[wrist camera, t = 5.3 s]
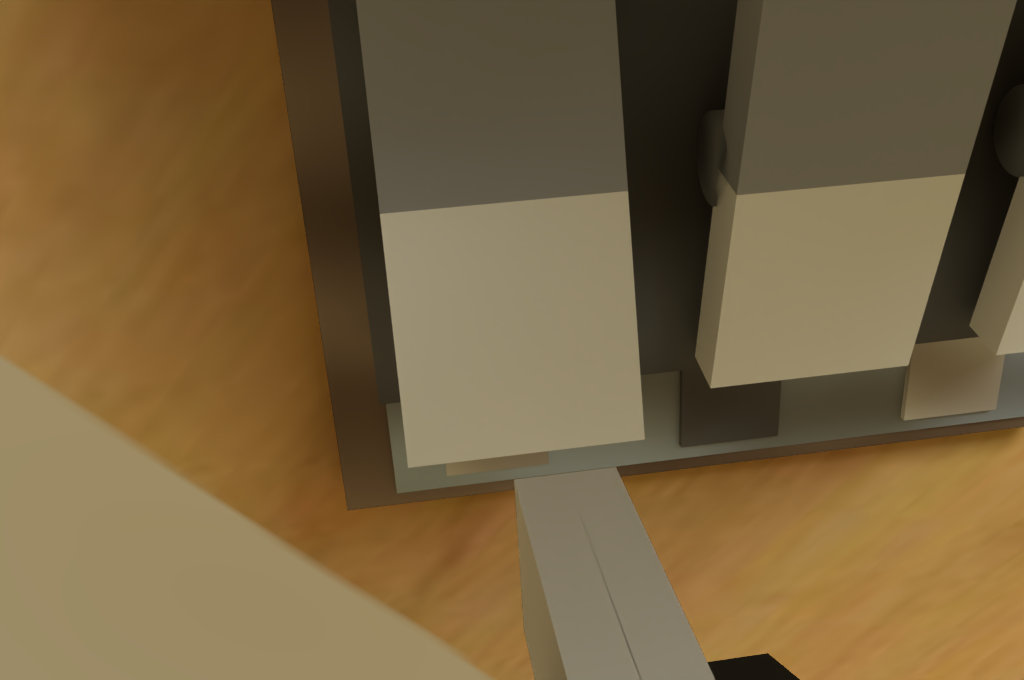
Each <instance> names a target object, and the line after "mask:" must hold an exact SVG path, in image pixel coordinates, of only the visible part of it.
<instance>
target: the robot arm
mask: <svg viewBox="0 0 1024 680" xmlns="http://www.w3.org/2000/svg"><path fill="white" fill-rule="evenodd" d="M514 487H515V502H516V517H517V532H518V547H519V562H520V577H521V592H522V607H523V622H524V632H525V637H526V641H527V646H528V650H529V655H530V659H531V664H532V668H533V673H534V677H535V680H800V679H798V678H797V677H796V676H795V675H793V674H792V673H791V672H790V671H789V670H787V669H786V668H785V667H784V666H783V665H781V664H780V663H779V662H778V661H776V660H775V659H774V658H773V657H772V656H770V655H769V654H768V653H767V654H760V655H754V656H747V657H740V658H733V659H727V660H720V661H713V662H707V661H706V659H705V657H704V654H703V652H702V650H701V648H700V646H699V644H698V642H697V639H696V637H695V635H694V633H693V631H692V629H691V627H690V624H689V622H688V620H687V618H686V616H685V614H684V612H683V610H682V607H681V605H680V603H679V601H678V599H677V597H676V595H675V592H674V590H673V588H672V586H671V584H670V582H669V580H668V577H667V575H666V573H665V571H664V569H663V567H662V565H661V562H660V560H659V558H658V556H657V554H656V552H655V550H654V547H653V545H652V543H651V541H650V539H649V537H648V535H647V532H646V530H645V528H644V526H643V524H642V522H641V520H640V517H639V515H638V513H637V511H636V509H635V507H634V505H633V503H632V500H631V498H630V496H629V494H628V492H627V490H626V488H625V485H624V483H623V481H622V479H621V477H620V475H619V473H618V470H617V468H616V467H612V468H604V469H595V470H587V471H579V472H571V473H563V474H555V475H547V476H539V477H531V478H523V479H515V480H514Z"/></svg>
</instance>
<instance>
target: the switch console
mask: <svg viewBox="0 0 1024 680" xmlns="http://www.w3.org/2000/svg"><path fill="white" fill-rule="evenodd" d="M737 3H738V0H615V6H616V21H617V36H618V50H619V65H620V80H621V95H622V110H623V124H624V139H625V154H626V169H627V183H628V198H629V213H630V228H631V243H632V257H633V272H634V287H635V302H636V317H637V331H638V346H639V361H640V376H641V391H642V405H643V420H644V435H645V440H637V441H628V442H620V443H612V444H603V445H595V446H587V447H578V448H570V449H562V450H553V451H545V452H537V453H528V454H520V455H512V456H503V457H495V458H487V459H478V460H470V461H462V462H453V463H445V464H437V465H428V466H420V467H412V468H408V463H407V454H406V445H405V436H404V427H403V418H402V409H401V400H400V391H399V382H398V373H397V364H396V355H395V346H394V337H393V328H392V319H391V310H390V301H389V292H388V283H387V274H386V265H385V256H384V247H383V238H382V229H381V220H380V211H379V202H378V193H377V184H376V175H375V166H374V157H373V148H372V139H371V130H370V121H369V112H368V103H367V95H366V86H365V77H364V68H363V59H362V50H361V41H360V32H359V23H358V14H357V5H356V0H271V4H272V11H273V17H274V24H275V31H276V37H277V44H278V50H279V57H280V64H281V70H282V77H283V84H284V90H285V97H286V104H287V110H288V117H289V123H290V130H291V137H292V143H293V150H294V157H295V163H296V170H297V177H298V183H299V190H300V196H301V203H302V210H303V216H304V223H305V230H306V236H307V243H308V250H309V256H310V263H311V270H312V276H313V283H314V289H315V296H316V303H317V309H318V316H319V323H320V329H321V336H322V343H323V349H324V356H325V362H326V369H327V376H328V382H329V389H330V396H331V402H332V409H333V416H334V422H335V429H336V435H337V442H338V449H339V455H340V462H341V469H342V475H343V482H344V489H345V495H346V502H347V508H348V510H355V509H363V508H371V507H379V506H387V505H395V504H403V503H411V502H420V501H428V500H436V499H444V498H452V497H460V496H468V495H476V494H484V493H492V492H500V491H508V490H515V487H514V480H515V479H523V478H531V477H539V476H547V475H555V474H563V473H571V472H579V471H587V470H595V469H604V468H612V467H616V468H617V470H618V473H619V475H620V477H622V476H630V475H638V474H646V473H654V472H662V471H670V470H678V469H686V468H694V467H702V466H710V465H719V464H727V463H735V462H743V461H751V460H759V459H767V458H775V457H783V456H791V455H799V454H807V453H816V452H824V451H832V450H840V449H848V448H856V447H864V446H872V445H880V444H888V443H896V442H904V441H913V440H921V439H929V438H937V437H945V436H953V435H961V434H969V433H977V432H985V431H993V430H1001V429H1010V428H1018V427H1024V352H1020V353H1011V354H1003V355H995V354H994V353H993V352H992V350H991V349H990V348H989V347H988V346H987V345H986V344H985V343H984V342H983V340H982V339H981V338H980V337H979V336H978V335H977V334H976V333H975V332H974V330H973V329H972V328H971V327H970V326H969V325H970V322H971V319H972V316H973V313H974V310H975V307H976V304H977V301H978V298H979V295H980V292H981V289H982V286H983V283H984V280H985V277H986V275H987V272H988V269H989V266H990V263H991V260H992V257H993V254H994V251H995V248H996V245H997V242H998V239H999V236H1000V233H1001V230H1002V227H1003V224H1004V221H1005V218H1006V215H1007V212H1008V210H1009V207H1010V204H1011V201H1012V198H1013V195H1014V192H1015V189H1016V186H1017V183H1018V180H1019V177H1016V176H1013V175H1011V174H1010V173H1008V172H1007V171H1006V170H1005V169H1004V167H1003V166H1002V165H1001V163H1000V161H999V159H998V157H997V154H996V150H995V145H994V122H995V117H996V113H997V110H998V107H999V105H1000V103H1001V101H1002V99H1003V98H1004V96H1005V95H1006V94H1007V93H1008V92H1009V91H1010V90H1011V89H1012V88H1013V87H1015V86H1017V85H1020V84H1024V0H1017V2H1016V5H1015V9H1014V12H1013V15H1012V19H1011V22H1010V26H1009V29H1008V32H1007V36H1006V39H1005V42H1004V46H1003V49H1002V52H1001V56H1000V59H999V62H998V66H997V69H996V73H995V76H994V79H993V83H992V86H991V89H990V93H989V96H988V99H987V103H986V106H985V109H984V113H983V116H982V120H981V123H980V126H979V130H978V133H977V136H976V140H975V143H974V146H973V150H972V153H971V156H970V160H969V163H968V167H967V170H966V173H965V177H964V180H963V183H962V187H961V190H960V193H959V197H958V200H957V203H956V207H955V210H954V214H953V217H952V220H951V224H950V227H949V230H948V234H947V237H946V240H945V244H944V247H943V250H942V254H941V257H940V261H939V264H938V267H937V271H936V274H935V277H934V281H933V284H932V287H931V291H930V294H929V297H928V301H927V304H926V308H925V311H924V314H923V318H922V321H921V324H920V328H919V331H918V334H917V338H916V341H915V344H914V348H913V351H912V355H911V358H910V361H909V365H908V366H900V367H891V368H883V369H874V370H865V371H857V372H848V373H839V374H831V375H822V376H813V377H805V378H796V379H787V380H779V381H770V382H761V383H753V384H744V385H735V386H727V387H718V388H710V386H709V384H708V382H707V380H706V378H705V376H704V374H703V372H702V370H701V368H700V366H699V364H698V362H697V360H696V358H695V352H696V343H697V335H698V327H699V318H700V310H701V302H702V293H703V285H704V277H705V269H706V260H707V252H708V244H709V235H710V227H711V219H712V210H713V206H711V205H710V204H709V203H708V202H707V200H706V199H705V197H704V194H703V191H702V188H701V185H700V180H699V175H698V167H697V138H698V131H699V127H700V123H701V120H702V118H703V116H704V114H705V113H706V112H707V111H710V110H722V109H725V102H726V94H727V86H728V78H729V69H730V61H731V53H732V44H733V36H734V28H735V19H736V11H737Z"/></svg>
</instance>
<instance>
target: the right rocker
mask: <svg viewBox="0 0 1024 680" xmlns="http://www.w3.org/2000/svg"><path fill="white" fill-rule="evenodd" d="M994 145H995V150H996V154H997V157H998V159H999V161H1000V163H1001V165H1002V166H1003V167H1004V169H1005V170H1006V171H1007V172H1008V173H1010V174H1011V175H1013V176H1016V177H1019V180H1018V183H1017V186H1016V189H1015V192H1014V195H1013V198H1012V201H1011V204H1010V207H1009V210H1008V212H1007V215H1006V218H1005V221H1004V224H1003V227H1002V230H1001V233H1000V236H999V239H998V242H997V245H996V248H995V251H994V254H993V257H992V260H991V263H990V266H989V269H988V272H987V275H986V277H985V280H984V283H983V286H982V289H981V292H980V295H979V298H978V301H977V304H976V307H975V310H974V313H973V316H972V319H971V322H970V325H969V326H970V327H971V328H972V329H973V330H974V332H975V333H976V334H977V335H978V336H979V337H980V338H981V339H982V340H983V342H984V343H985V344H986V345H987V346H988V347H989V348H990V349H991V350H992V352H993V353H994V354H995V355H1003V354H1011V353H1020V352H1024V84H1020V85H1017V86H1015V87H1013V88H1012V89H1011V90H1010V91H1009V92H1008V93H1007V94H1006V95H1005V96H1004V98H1003V99H1002V101H1001V103H1000V105H999V107H998V110H997V113H996V117H995V122H994Z"/></svg>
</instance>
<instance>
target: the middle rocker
mask: <svg viewBox="0 0 1024 680" xmlns="http://www.w3.org/2000/svg"><path fill="white" fill-rule="evenodd" d="M1016 2H1017V0H738V3H737V11H736V19H735V28H734V36H733V44H732V53H731V61H730V69H729V78H728V86H727V94H726V102H725V109H722V110H710V111H707V112H706V113H705V114H704V116H703V118H702V120H701V123H700V127H699V131H698V138H697V167H698V175H699V180H700V185H701V188H702V191H703V194H704V197H705V199H706V200H707V202H708V203H709V204H710V205H711V206H713V210H712V219H711V227H710V235H709V244H708V252H707V260H706V269H705V277H704V285H703V293H702V302H701V310H700V318H699V327H698V335H697V343H696V352H695V358H696V360H697V362H698V364H699V366H700V368H701V370H702V372H703V374H704V376H705V378H706V380H707V382H708V384H709V386H710V388H718V387H727V386H735V385H744V384H753V383H761V382H770V381H779V380H787V379H796V378H805V377H813V376H822V375H831V374H839V373H848V372H857V371H865V370H874V369H883V368H891V367H900V366H908V365H909V361H910V358H911V355H912V351H913V348H914V344H915V341H916V338H917V334H918V331H919V328H920V324H921V321H922V318H923V314H924V311H925V308H926V304H927V301H928V297H929V294H930V291H931V287H932V284H933V281H934V277H935V274H936V271H937V267H938V264H939V261H940V257H941V254H942V250H943V247H944V244H945V240H946V237H947V234H948V230H949V227H950V224H951V220H952V217H953V214H954V210H955V207H956V203H957V200H958V197H959V193H960V190H961V187H962V183H963V180H964V177H965V173H966V170H967V167H968V163H969V160H970V156H971V153H972V150H973V146H974V143H975V140H976V136H977V133H978V130H979V126H980V123H981V120H982V116H983V113H984V109H985V106H986V103H987V99H988V96H989V93H990V89H991V86H992V83H993V79H994V76H995V73H996V69H997V66H998V62H999V59H1000V56H1001V52H1002V49H1003V46H1004V42H1005V39H1006V36H1007V32H1008V29H1009V26H1010V22H1011V19H1012V15H1013V12H1014V9H1015V5H1016Z"/></svg>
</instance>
